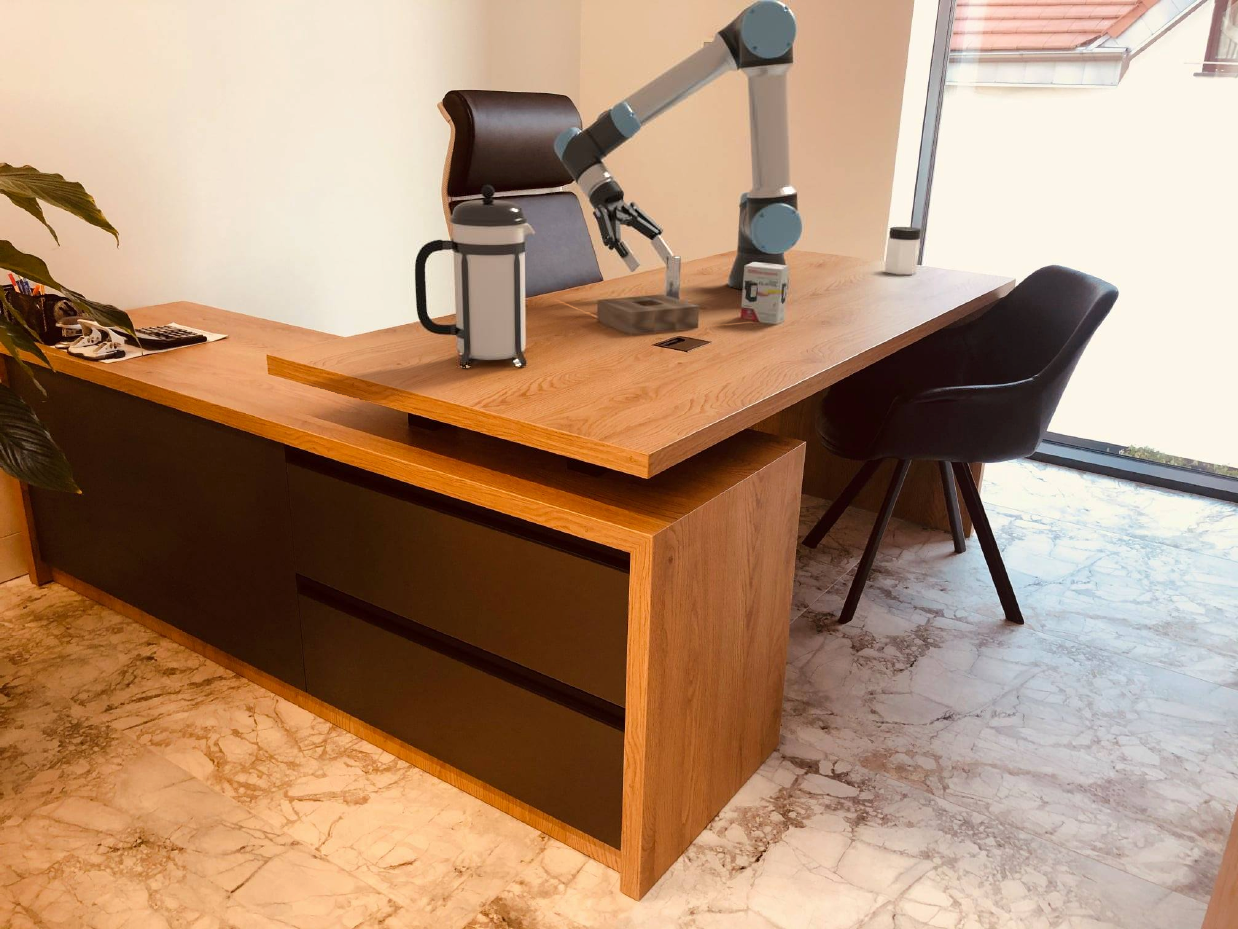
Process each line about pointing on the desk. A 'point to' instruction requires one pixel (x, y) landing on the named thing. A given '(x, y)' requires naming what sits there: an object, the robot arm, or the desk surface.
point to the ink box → (764, 292)
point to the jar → (902, 250)
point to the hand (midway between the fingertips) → (653, 264)
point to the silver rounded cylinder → (672, 276)
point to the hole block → (647, 314)
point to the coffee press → (483, 280)
